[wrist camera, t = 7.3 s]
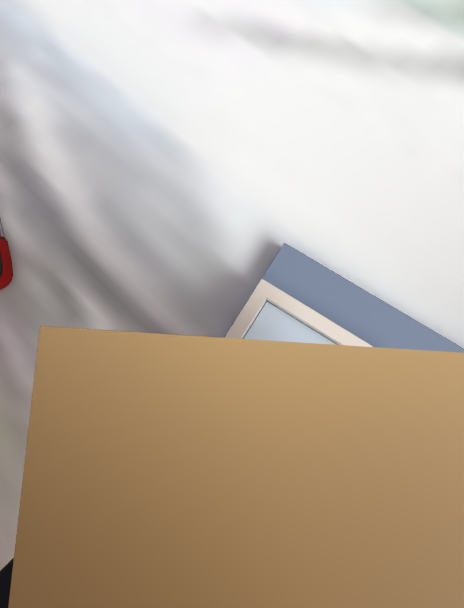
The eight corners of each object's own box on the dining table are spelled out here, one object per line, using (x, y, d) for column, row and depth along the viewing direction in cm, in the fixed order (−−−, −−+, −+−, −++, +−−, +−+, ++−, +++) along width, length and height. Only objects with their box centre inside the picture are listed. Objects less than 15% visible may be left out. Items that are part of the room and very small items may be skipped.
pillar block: (353, 483, 15) (862, 1372, 2) (225, 471, 15) (-50, 1110, 2) (357, 354, 15) (791, 373, 2) (234, 346, 16) (41, 325, 3)
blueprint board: (289, 842, 18) (291, 909, 16) (39, 633, 20) (10, 667, 18) (552, 406, 19) (587, 414, 17) (284, 247, 21) (284, 236, 19)
